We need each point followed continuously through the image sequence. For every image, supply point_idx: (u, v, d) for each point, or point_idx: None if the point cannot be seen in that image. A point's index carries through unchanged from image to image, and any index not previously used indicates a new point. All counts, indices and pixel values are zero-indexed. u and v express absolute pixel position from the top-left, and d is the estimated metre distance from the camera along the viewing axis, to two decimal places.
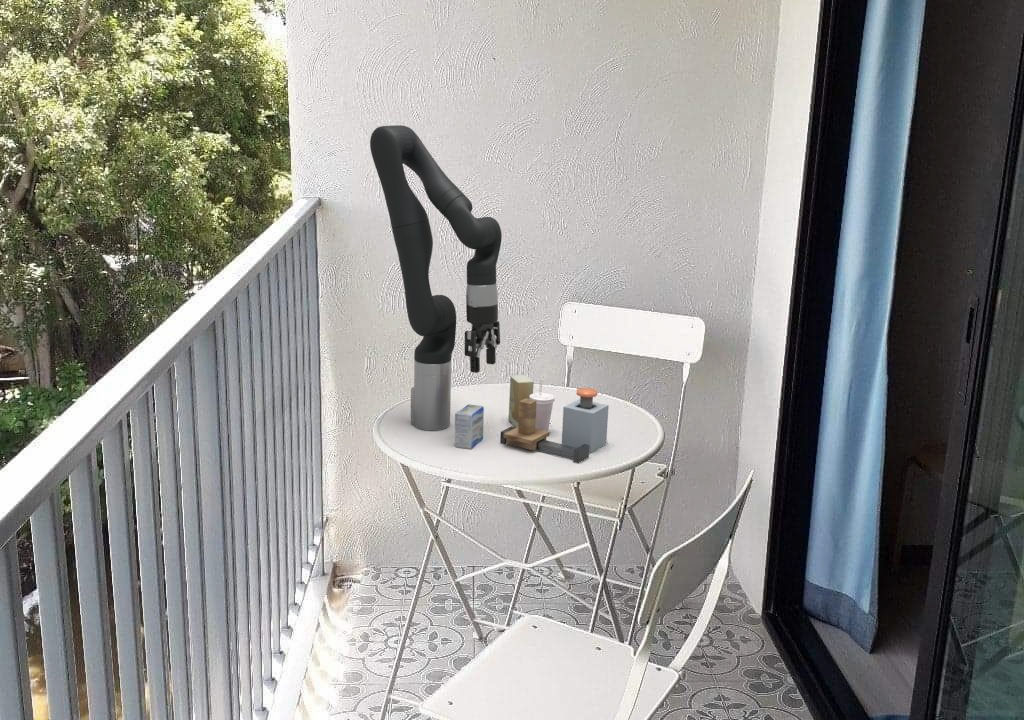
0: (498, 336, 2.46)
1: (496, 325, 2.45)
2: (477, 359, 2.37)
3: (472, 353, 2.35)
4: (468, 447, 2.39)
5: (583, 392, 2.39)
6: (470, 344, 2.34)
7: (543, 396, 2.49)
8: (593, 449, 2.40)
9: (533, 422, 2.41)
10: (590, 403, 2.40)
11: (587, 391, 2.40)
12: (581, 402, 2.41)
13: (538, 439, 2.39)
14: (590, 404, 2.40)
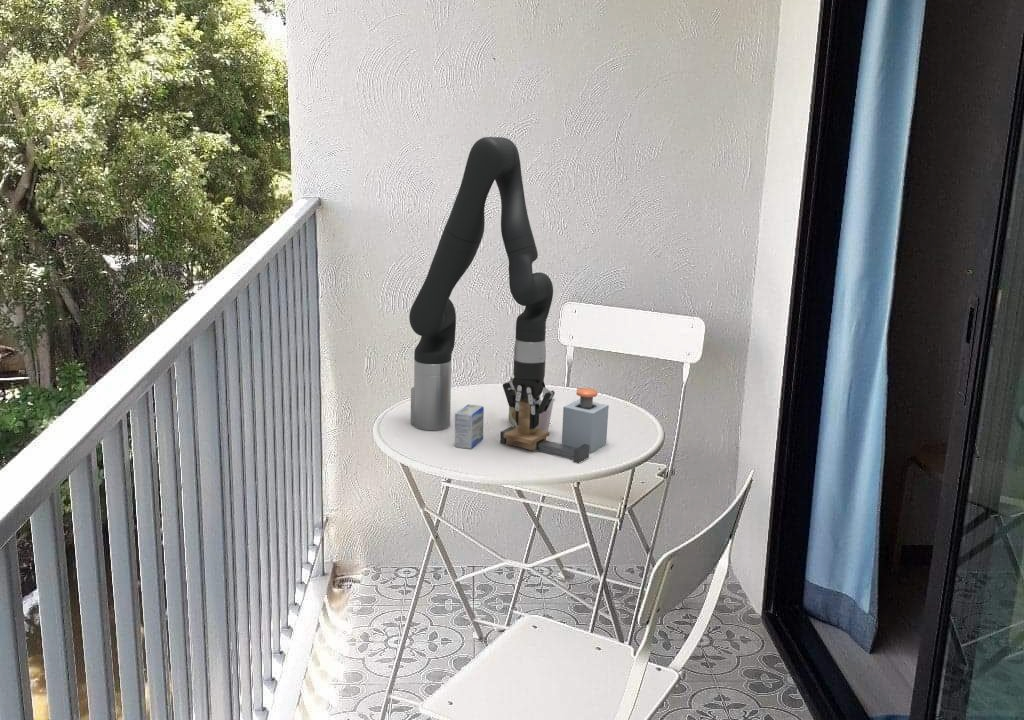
0: None
1: None
2: None
3: (546, 408, 2.38)
4: (468, 447, 2.39)
5: (583, 392, 2.39)
6: (548, 403, 2.37)
7: None
8: (593, 449, 2.40)
9: None
10: (590, 403, 2.40)
11: (587, 391, 2.40)
12: (581, 402, 2.41)
13: (538, 439, 2.39)
14: (590, 404, 2.40)
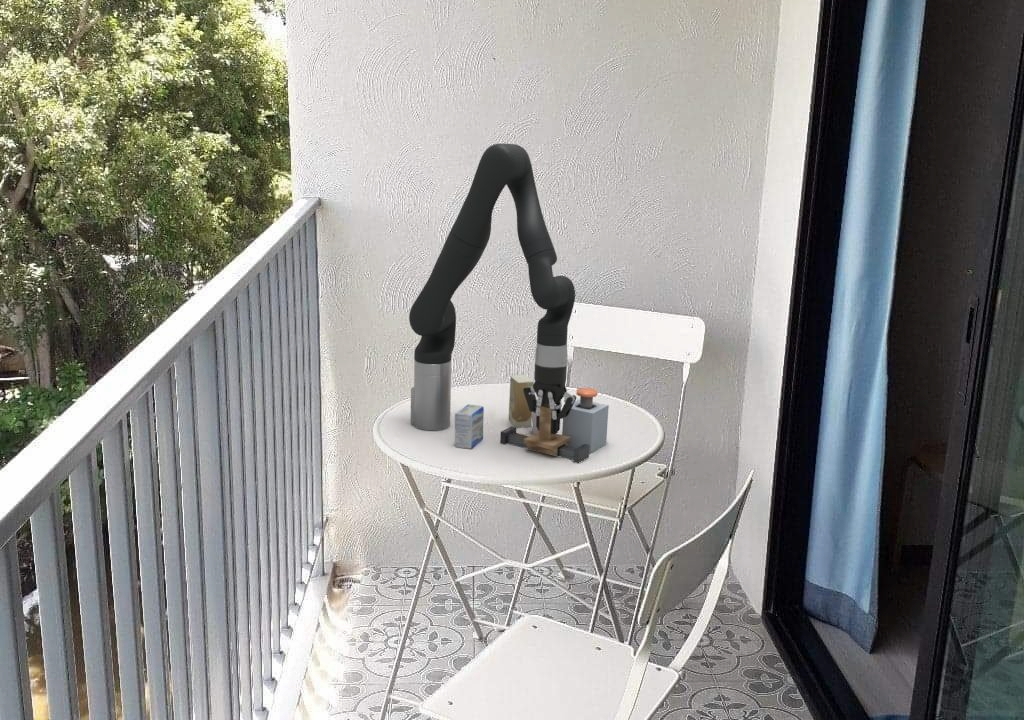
0: None
1: None
2: None
3: (567, 413, 2.35)
4: (468, 447, 2.39)
5: (583, 392, 2.39)
6: (570, 408, 2.34)
7: None
8: (593, 449, 2.40)
9: None
10: (590, 403, 2.40)
11: (587, 391, 2.40)
12: (581, 402, 2.41)
13: (559, 444, 2.36)
14: (590, 404, 2.40)
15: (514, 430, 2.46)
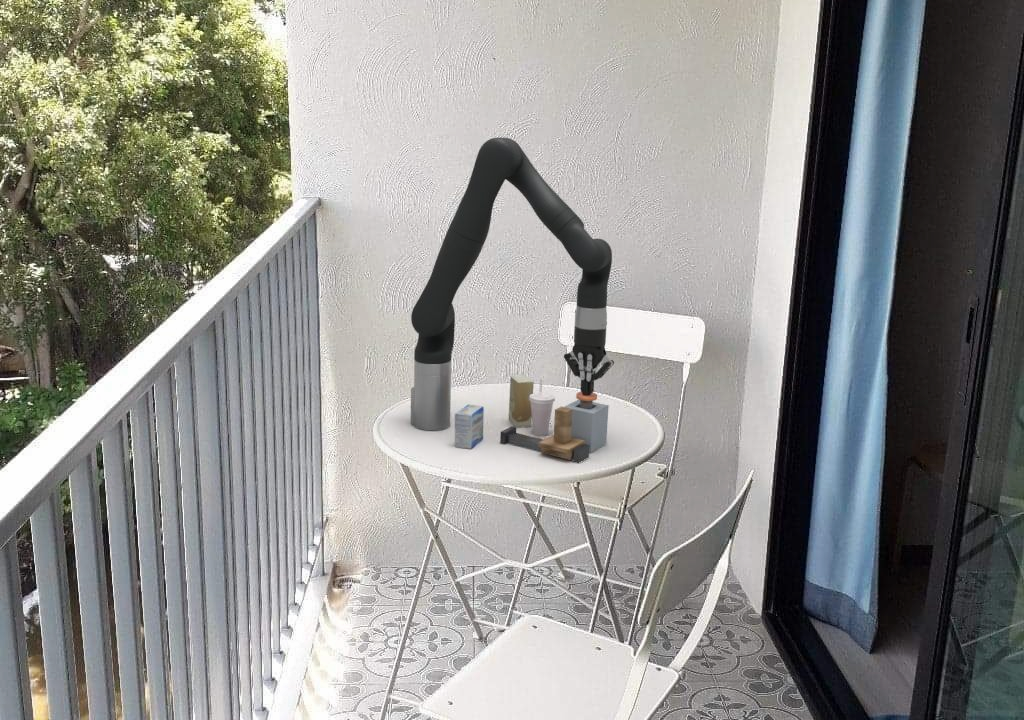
0: None
1: None
2: None
3: (601, 375, 2.39)
4: (468, 447, 2.39)
5: (583, 396, 2.40)
6: (605, 371, 2.37)
7: (543, 396, 2.49)
8: (593, 449, 2.40)
9: (569, 430, 2.36)
10: (590, 407, 2.40)
11: None
12: (581, 406, 2.41)
13: (574, 448, 2.34)
14: (590, 408, 2.41)
15: (514, 430, 2.46)
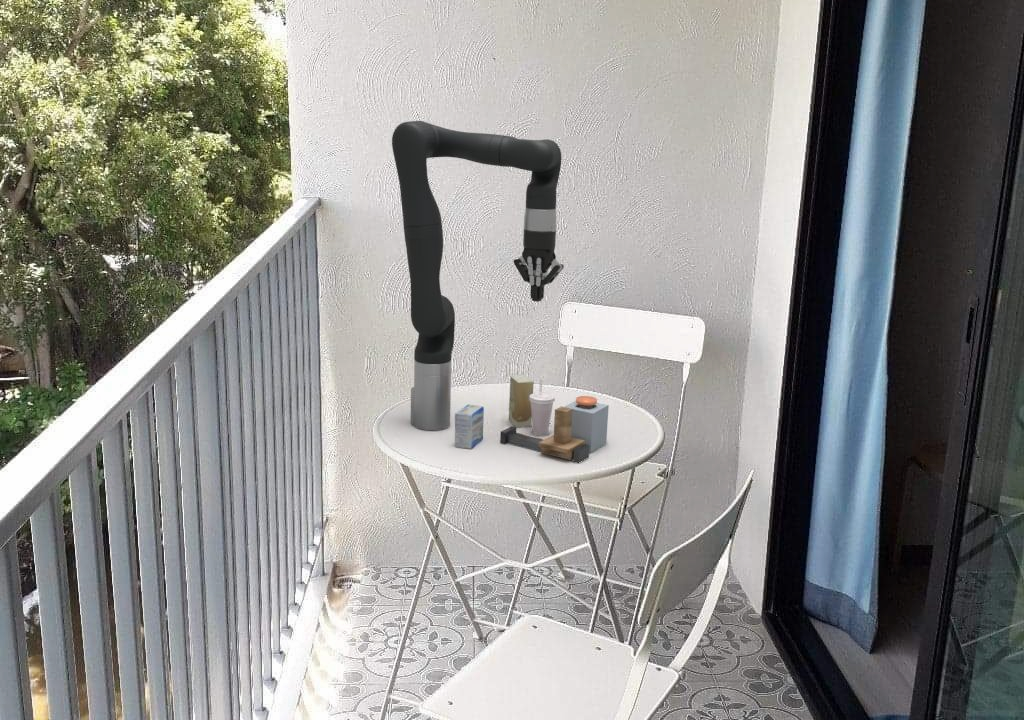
0: None
1: None
2: None
3: (551, 279, 2.35)
4: (468, 447, 2.39)
5: (583, 400, 2.40)
6: (555, 275, 2.33)
7: (543, 396, 2.49)
8: (593, 449, 2.40)
9: (569, 430, 2.36)
10: None
11: (587, 399, 2.41)
12: None
13: (574, 448, 2.34)
14: None
15: (514, 430, 2.46)
